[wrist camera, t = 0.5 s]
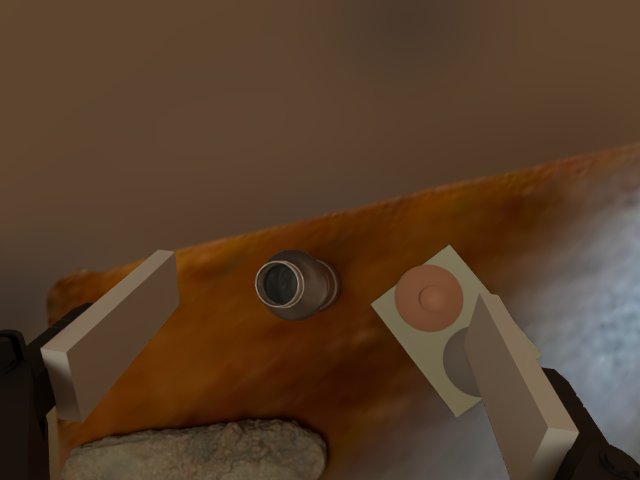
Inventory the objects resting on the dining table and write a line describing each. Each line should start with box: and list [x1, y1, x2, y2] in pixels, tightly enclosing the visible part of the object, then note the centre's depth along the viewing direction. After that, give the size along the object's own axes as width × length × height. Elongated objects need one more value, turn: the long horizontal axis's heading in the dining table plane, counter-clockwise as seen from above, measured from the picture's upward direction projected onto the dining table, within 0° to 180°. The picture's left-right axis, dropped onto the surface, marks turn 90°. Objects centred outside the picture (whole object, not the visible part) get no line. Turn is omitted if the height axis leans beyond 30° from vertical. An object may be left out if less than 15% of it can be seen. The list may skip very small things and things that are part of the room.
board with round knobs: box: [371, 245, 542, 417], centre depth 43 cm, size 17×12×7 cm
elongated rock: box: [60, 419, 327, 480], centre depth 47 cm, size 35×5×10 cm
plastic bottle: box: [255, 250, 340, 321], centre depth 39 cm, size 6×7×20 cm
